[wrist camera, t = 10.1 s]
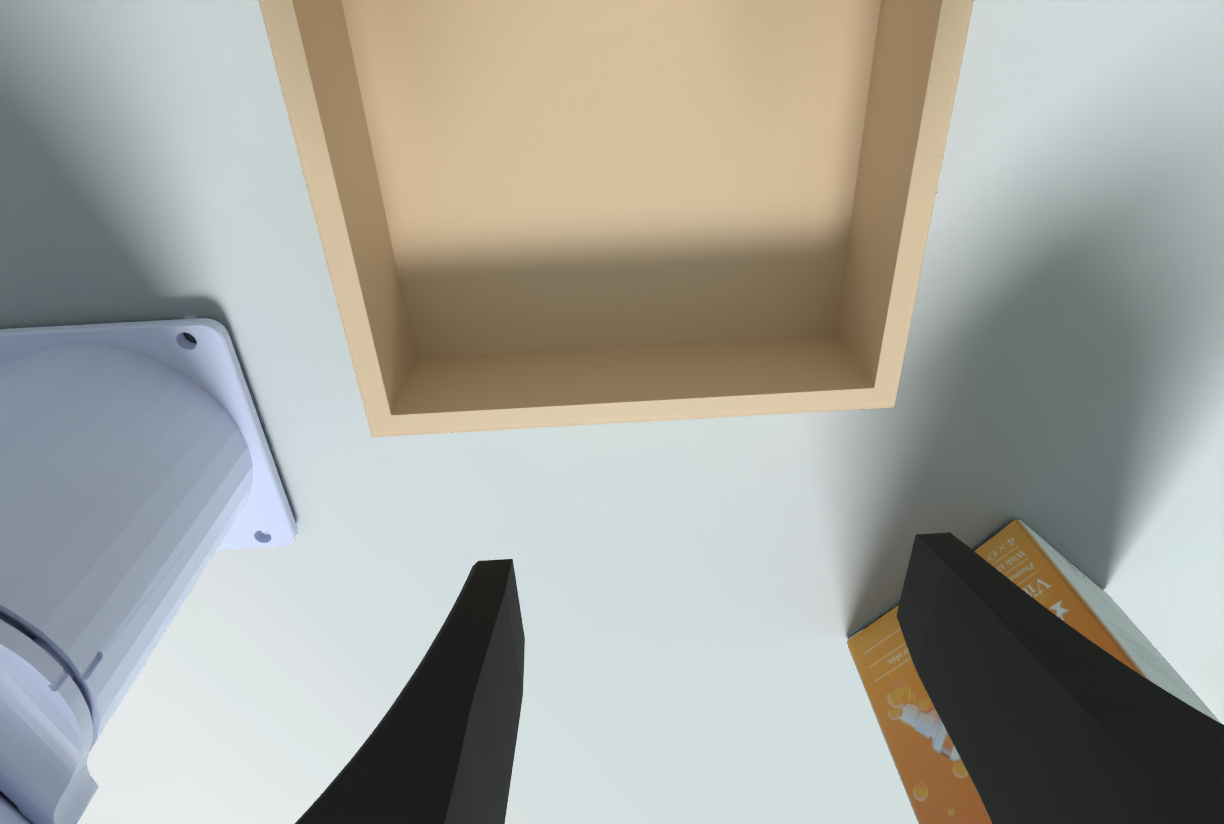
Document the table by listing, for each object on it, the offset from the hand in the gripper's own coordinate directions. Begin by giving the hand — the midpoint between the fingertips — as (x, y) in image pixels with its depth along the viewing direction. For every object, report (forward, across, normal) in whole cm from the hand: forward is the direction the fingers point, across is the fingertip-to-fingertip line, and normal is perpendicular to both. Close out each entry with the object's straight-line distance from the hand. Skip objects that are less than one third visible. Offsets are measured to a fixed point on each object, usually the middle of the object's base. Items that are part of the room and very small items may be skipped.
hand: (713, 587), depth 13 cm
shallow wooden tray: (+9, +1, -6) cm, 11 cm away
